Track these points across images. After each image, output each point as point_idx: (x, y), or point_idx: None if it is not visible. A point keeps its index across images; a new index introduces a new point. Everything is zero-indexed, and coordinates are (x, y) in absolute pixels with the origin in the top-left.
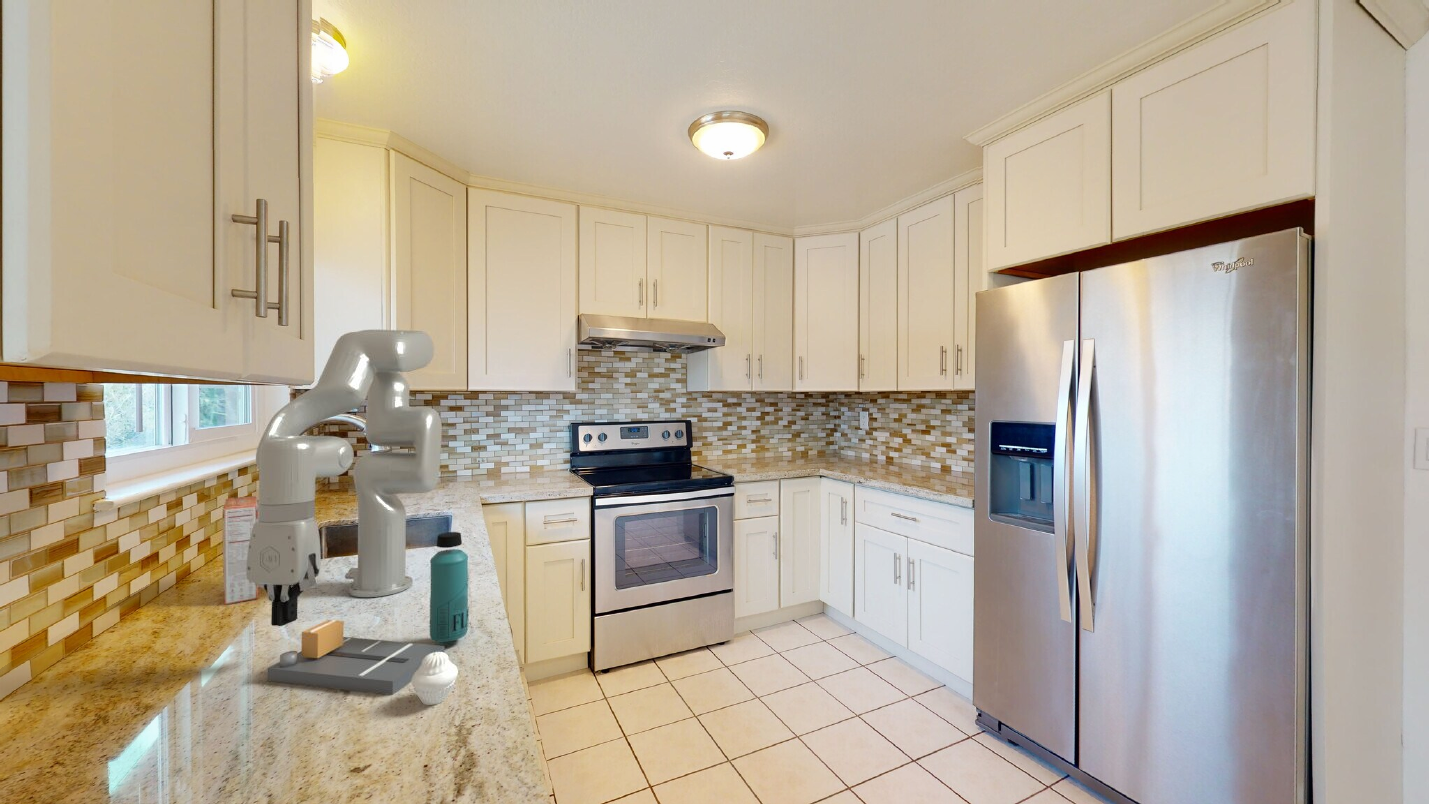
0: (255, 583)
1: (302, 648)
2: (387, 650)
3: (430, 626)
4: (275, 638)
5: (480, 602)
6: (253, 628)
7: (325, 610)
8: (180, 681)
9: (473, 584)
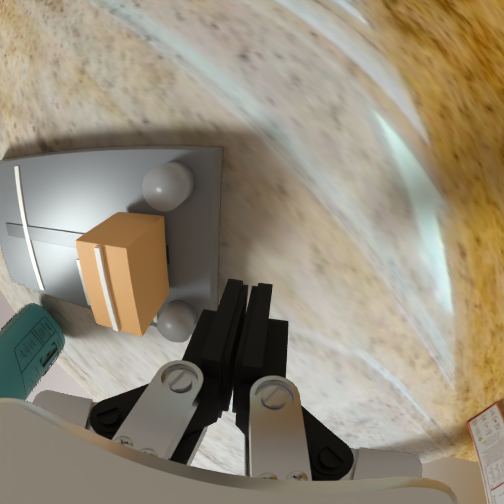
0: (417, 463)
1: (150, 225)
2: (50, 266)
3: (38, 328)
4: (382, 347)
5: None
6: (442, 369)
7: (356, 426)
8: (447, 144)
9: (192, 461)
